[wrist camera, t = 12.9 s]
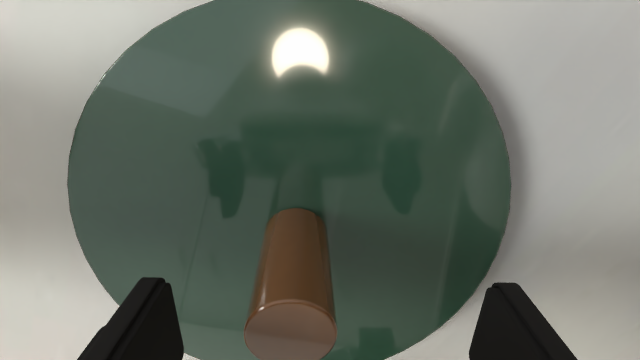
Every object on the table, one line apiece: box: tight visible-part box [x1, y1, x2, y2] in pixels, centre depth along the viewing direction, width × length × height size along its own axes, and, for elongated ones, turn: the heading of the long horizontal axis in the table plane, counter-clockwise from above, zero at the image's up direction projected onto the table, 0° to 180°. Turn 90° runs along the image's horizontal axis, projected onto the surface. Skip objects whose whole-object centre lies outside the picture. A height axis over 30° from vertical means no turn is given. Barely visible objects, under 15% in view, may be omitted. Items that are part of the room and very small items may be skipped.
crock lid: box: [67, 0, 511, 360], centre depth 12 cm, size 18×18×6 cm
